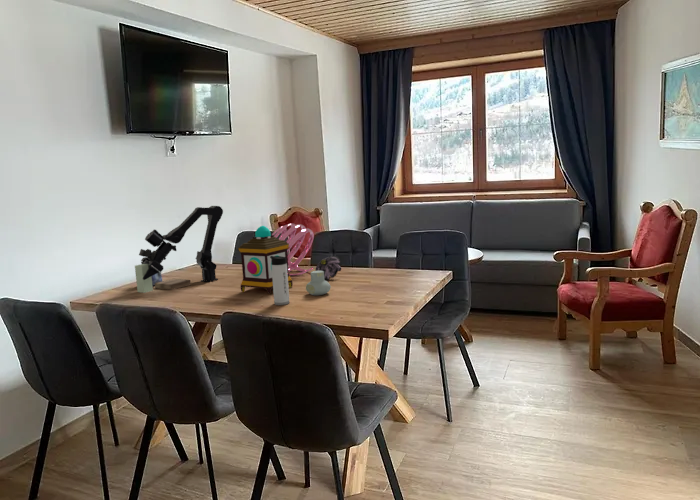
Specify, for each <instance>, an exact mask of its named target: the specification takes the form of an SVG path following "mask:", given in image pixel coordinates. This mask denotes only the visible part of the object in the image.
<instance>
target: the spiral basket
mask: <svg viewBox="0 0 700 500" xmlns="http://www.w3.org/2000/svg"><path fill="white" fill-rule="evenodd" d="M288 227H290V228H288ZM287 228H288V229H287ZM298 228H301V230H300V231H298V232H297V229H298ZM296 232H297V233H296ZM307 233H309V239H308V241H307V244H306V245H305V247H304V249H303V251H302V252H300V255H299V256H298V257H297V258H296V260H295V261H293V262H292V261H291V259H292V258H293V257H294V255H296V253H297V252H298V250H300V247H301V246H302V244H303V242H304V240H305V237H306V234H307ZM271 235H274V237H276V238H277V239H279V240H284V241H285V242H287V243H288V244H289V247H288V249H287V255H288V269H289V276H290V277H295V276H296V277H297V276H301V275H303V274H305V273H308V272H312V270H313V269H314V267H311V268H307V269H305V268H301V267H300V266H298V265H299V264H300V263H301V262H302V260H303V259H304V258H305V256H307V253H308V252H309V251H310V248H311V246H312V244H313V241H314V238H315V236H314V231H313V230H312V229H310V228H306V226H305V225H304V224H300V223H298V224H295V223H288V224H285V225H282V226H279V227H278V228H277V229H275V230H274V232H272V233H271ZM279 235H280V236H279ZM278 237H279V238H278ZM292 247H293V248H292ZM289 251H290V252H289ZM293 270H294V271H298V273H290V272H291V271H293Z"/></svg>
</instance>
